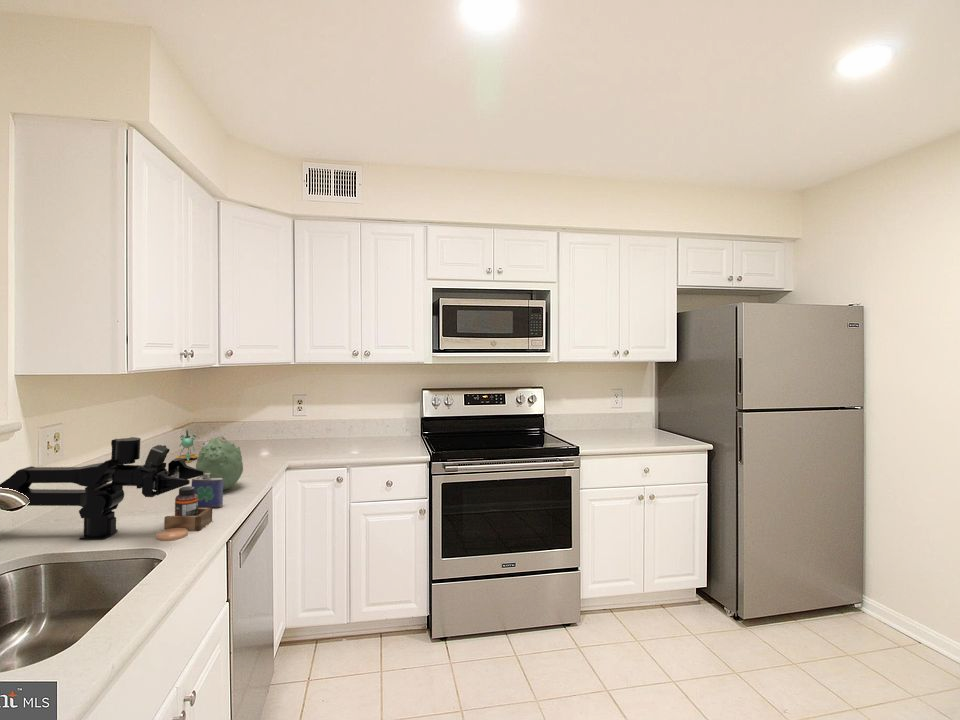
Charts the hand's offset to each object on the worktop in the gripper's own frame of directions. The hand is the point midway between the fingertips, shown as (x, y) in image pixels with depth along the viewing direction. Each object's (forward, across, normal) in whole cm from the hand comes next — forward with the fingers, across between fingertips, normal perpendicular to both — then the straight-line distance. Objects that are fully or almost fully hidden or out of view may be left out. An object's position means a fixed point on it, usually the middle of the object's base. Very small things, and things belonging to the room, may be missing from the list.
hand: (196, 477), depth 148 cm
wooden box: (-4, +7, +17) cm, 19 cm away
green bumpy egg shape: (-10, +46, +18) cm, 51 cm away
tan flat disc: (-5, -2, +16) cm, 17 cm away
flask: (-6, +25, +18) cm, 31 cm away
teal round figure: (-44, +100, +21) cm, 111 cm away
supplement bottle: (-5, +7, +17) cm, 19 cm away
